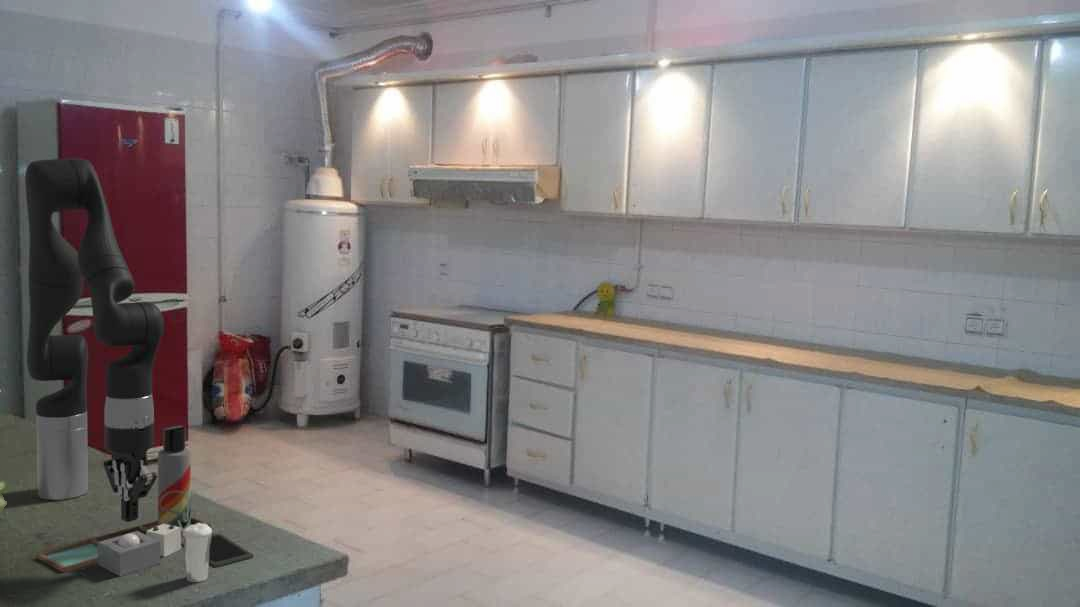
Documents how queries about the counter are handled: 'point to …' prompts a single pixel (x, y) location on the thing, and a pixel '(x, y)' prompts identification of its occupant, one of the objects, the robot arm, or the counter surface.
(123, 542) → the dome
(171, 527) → the die
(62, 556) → the track
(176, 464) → the lotion bottle
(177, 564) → the counter surface
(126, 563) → the button box
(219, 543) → the cell phone
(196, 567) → the milkshake
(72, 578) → the counter surface
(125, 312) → the robot arm
